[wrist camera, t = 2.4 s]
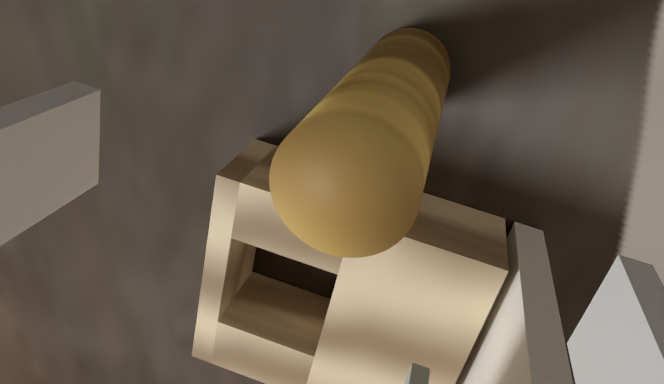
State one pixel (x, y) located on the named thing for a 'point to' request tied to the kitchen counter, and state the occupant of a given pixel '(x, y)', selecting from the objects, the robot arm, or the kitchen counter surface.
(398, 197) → the peg
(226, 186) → the socket block
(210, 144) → the kitchen counter surface
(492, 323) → the awning
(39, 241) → the kitchen counter surface
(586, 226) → the kitchen counter surface
